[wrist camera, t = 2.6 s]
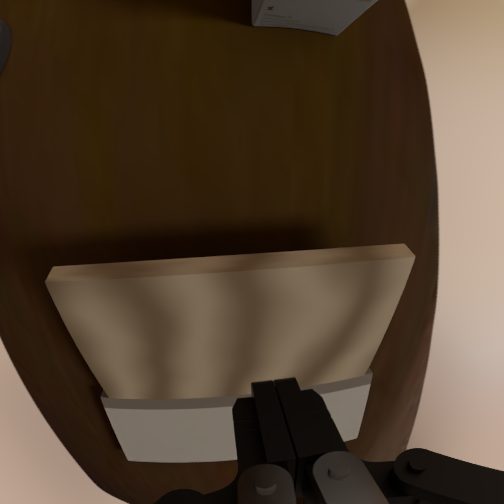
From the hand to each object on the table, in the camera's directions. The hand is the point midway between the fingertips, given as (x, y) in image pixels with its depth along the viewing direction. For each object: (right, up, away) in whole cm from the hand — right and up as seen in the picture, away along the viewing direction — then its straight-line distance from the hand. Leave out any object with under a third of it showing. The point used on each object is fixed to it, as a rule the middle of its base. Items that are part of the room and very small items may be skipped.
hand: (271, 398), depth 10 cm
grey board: (-2, -12, +19) cm, 22 cm away
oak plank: (-2, -1, +13) cm, 13 cm away
